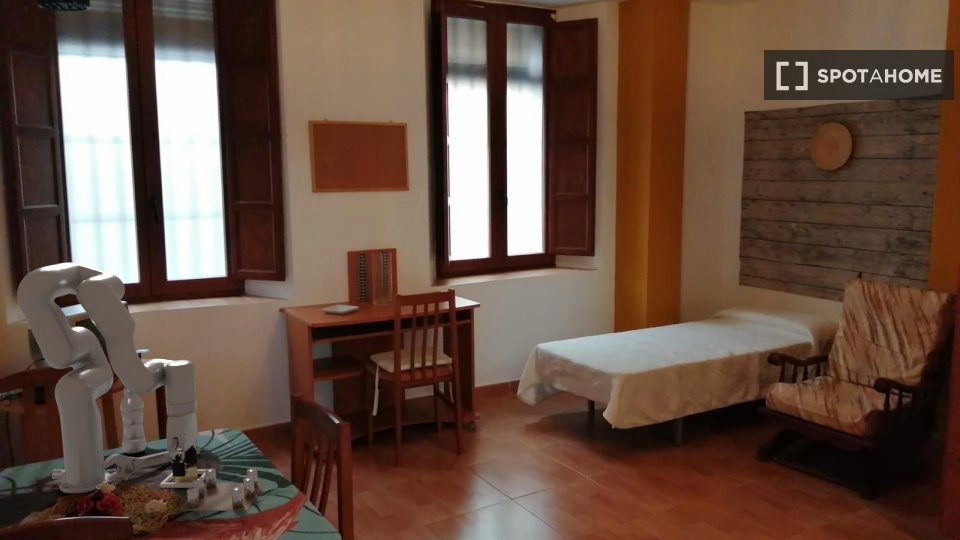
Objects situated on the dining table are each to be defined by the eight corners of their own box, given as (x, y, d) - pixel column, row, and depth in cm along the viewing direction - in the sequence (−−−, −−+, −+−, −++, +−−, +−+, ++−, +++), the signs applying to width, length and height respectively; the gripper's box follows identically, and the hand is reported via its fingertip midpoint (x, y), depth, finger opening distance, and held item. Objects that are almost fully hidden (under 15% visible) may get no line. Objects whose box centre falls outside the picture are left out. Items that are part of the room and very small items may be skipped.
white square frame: (160, 491, 200) (160, 483, 199) (175, 476, 209) (175, 469, 209) (197, 490, 200) (196, 483, 199) (210, 476, 209) (210, 469, 209)
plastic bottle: (130, 448, 232) (126, 384, 229) (151, 448, 231) (147, 385, 228) (117, 455, 225) (113, 390, 223) (138, 456, 225) (134, 391, 222)
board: (178, 514, 186) (177, 510, 186) (203, 486, 202) (203, 483, 202) (246, 514, 186) (246, 510, 186) (266, 486, 202) (266, 483, 202)
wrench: (199, 463, 227) (105, 487, 201) (195, 462, 228) (101, 486, 202) (201, 437, 226) (106, 457, 201) (197, 436, 227) (102, 456, 202)
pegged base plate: (182, 508, 187) (181, 491, 186) (204, 484, 201) (203, 468, 201) (245, 508, 186) (244, 491, 186) (262, 484, 201) (262, 468, 200)
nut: (169, 485, 202) (168, 471, 201) (178, 477, 207) (177, 463, 207) (193, 485, 202) (192, 471, 201) (201, 477, 207) (200, 463, 207)
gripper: (180, 397, 211) (184, 458, 213) (153, 417, 193) (157, 483, 195) (207, 397, 210) (211, 458, 213) (182, 417, 193) (186, 483, 195)
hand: (185, 469), depth 204 cm, fingers open, 7 cm apart
